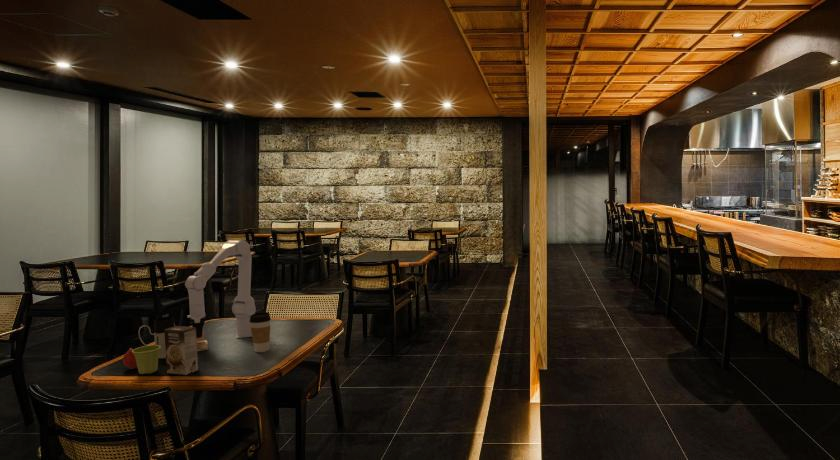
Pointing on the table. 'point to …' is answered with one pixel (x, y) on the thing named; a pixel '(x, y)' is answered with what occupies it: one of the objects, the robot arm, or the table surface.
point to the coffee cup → (260, 331)
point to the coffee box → (181, 350)
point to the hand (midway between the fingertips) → (199, 336)
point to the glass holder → (160, 333)
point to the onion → (129, 359)
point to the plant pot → (147, 358)
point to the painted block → (201, 337)
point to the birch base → (202, 345)
